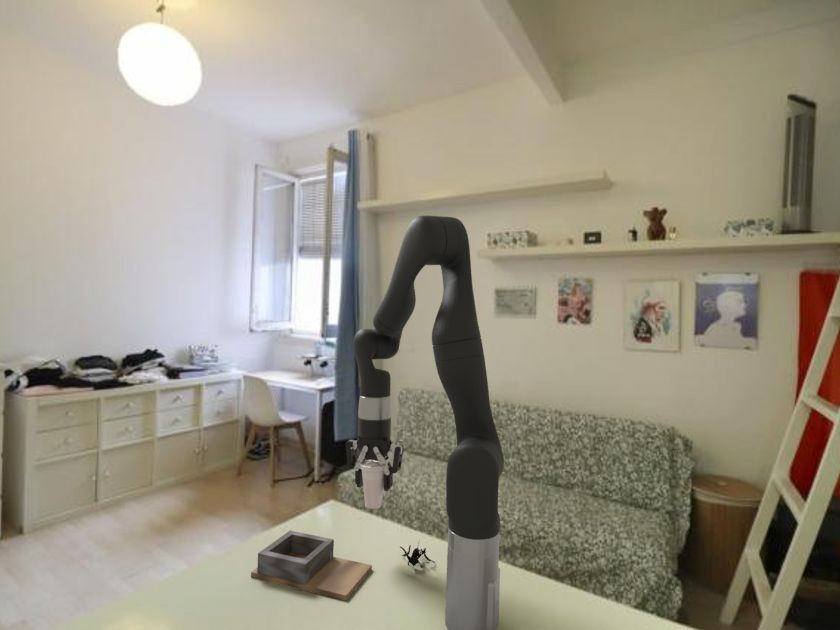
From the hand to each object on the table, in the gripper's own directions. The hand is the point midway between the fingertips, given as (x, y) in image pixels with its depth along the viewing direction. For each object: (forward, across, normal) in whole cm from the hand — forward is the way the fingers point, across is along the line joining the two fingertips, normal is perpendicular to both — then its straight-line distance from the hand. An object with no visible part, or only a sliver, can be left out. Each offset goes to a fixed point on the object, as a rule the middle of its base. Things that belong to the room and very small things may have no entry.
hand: (373, 487), depth 107 cm
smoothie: (+4, 0, 0) cm, 4 cm away
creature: (+16, -10, -1) cm, 19 cm away
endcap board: (+15, +9, +11) cm, 21 cm away
